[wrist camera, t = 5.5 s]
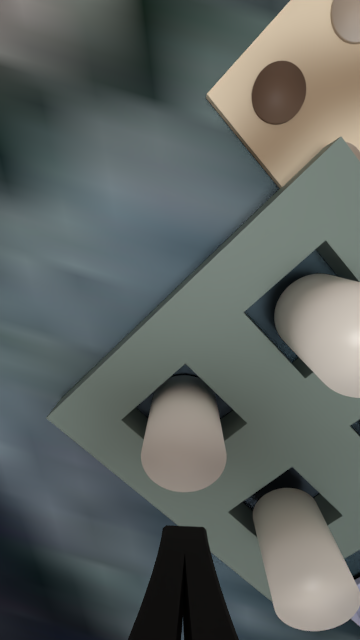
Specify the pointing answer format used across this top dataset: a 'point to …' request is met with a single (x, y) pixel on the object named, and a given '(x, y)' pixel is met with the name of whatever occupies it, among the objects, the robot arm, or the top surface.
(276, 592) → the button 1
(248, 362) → the grey-green board with holes
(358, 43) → the tile
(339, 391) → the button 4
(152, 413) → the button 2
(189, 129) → the top surface
